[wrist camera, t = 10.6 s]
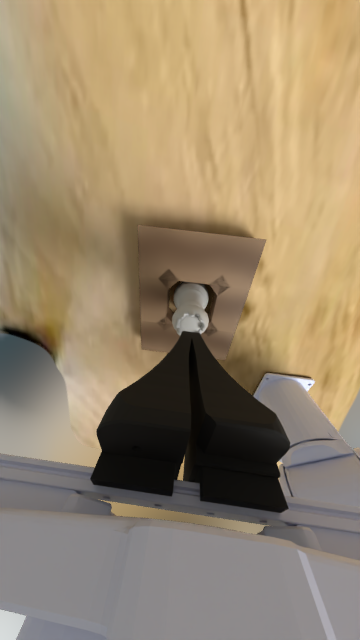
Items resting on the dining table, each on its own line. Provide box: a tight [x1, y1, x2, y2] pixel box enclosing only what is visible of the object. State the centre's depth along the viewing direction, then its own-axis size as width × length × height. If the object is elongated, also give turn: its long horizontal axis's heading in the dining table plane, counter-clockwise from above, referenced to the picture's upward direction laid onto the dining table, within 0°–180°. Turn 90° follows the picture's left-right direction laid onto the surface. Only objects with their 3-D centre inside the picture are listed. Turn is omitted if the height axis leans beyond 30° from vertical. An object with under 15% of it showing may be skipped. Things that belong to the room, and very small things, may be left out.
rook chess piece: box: [172, 281, 209, 336], centre depth 16 cm, size 4×4×8 cm
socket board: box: [138, 225, 266, 360], centre depth 18 cm, size 15×12×2 cm
